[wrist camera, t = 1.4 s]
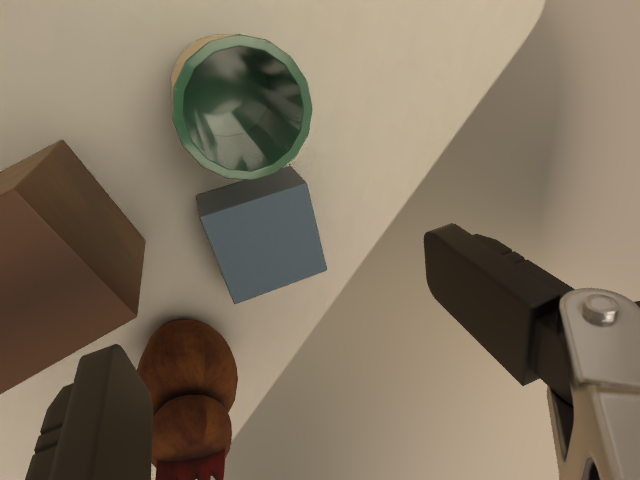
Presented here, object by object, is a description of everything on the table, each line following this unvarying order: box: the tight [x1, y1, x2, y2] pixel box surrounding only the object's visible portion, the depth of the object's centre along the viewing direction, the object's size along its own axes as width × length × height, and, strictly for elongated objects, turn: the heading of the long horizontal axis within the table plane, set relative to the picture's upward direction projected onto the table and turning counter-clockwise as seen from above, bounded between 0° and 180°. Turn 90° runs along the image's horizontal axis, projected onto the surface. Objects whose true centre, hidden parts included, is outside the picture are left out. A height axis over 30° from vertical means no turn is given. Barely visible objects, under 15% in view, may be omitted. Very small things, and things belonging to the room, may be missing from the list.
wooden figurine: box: [137, 320, 238, 480], centre depth 26 cm, size 7×6×15 cm
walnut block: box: [0, 140, 145, 394], centre depth 22 cm, size 8×8×9 cm
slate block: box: [196, 166, 327, 304], centre depth 29 cm, size 7×7×4 cm
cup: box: [171, 34, 312, 180], centre depth 22 cm, size 6×6×8 cm
